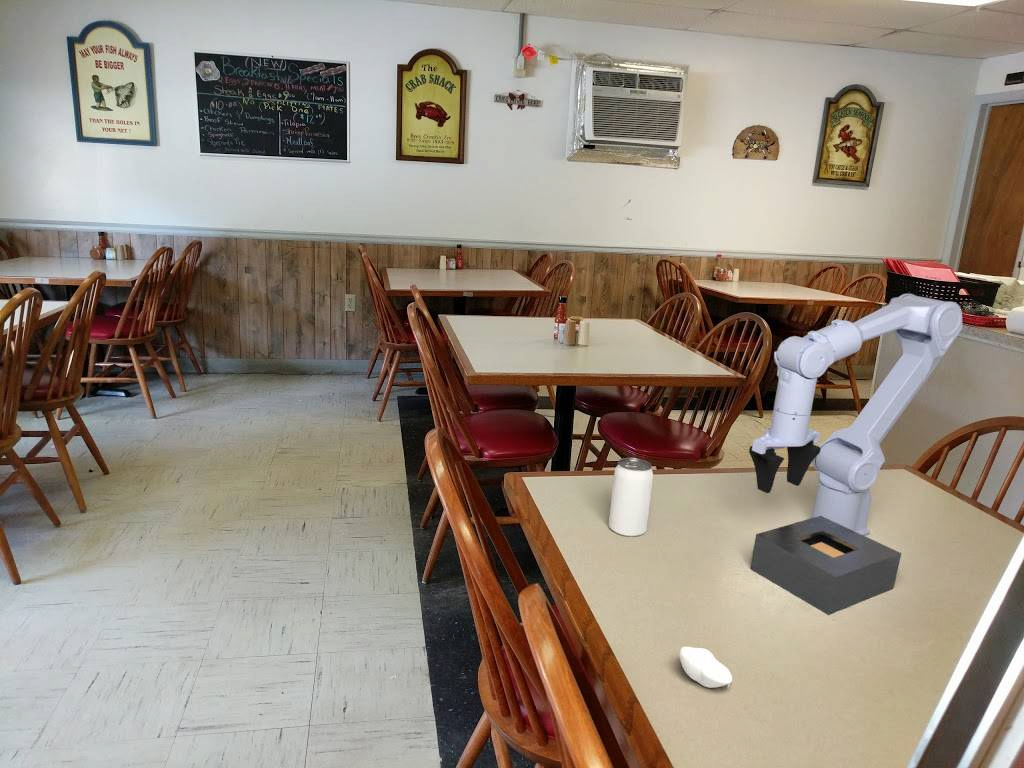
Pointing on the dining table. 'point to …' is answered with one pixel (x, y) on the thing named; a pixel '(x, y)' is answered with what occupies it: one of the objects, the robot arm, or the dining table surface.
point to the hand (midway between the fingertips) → (778, 487)
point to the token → (827, 549)
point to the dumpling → (704, 667)
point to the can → (631, 497)
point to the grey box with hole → (825, 563)
